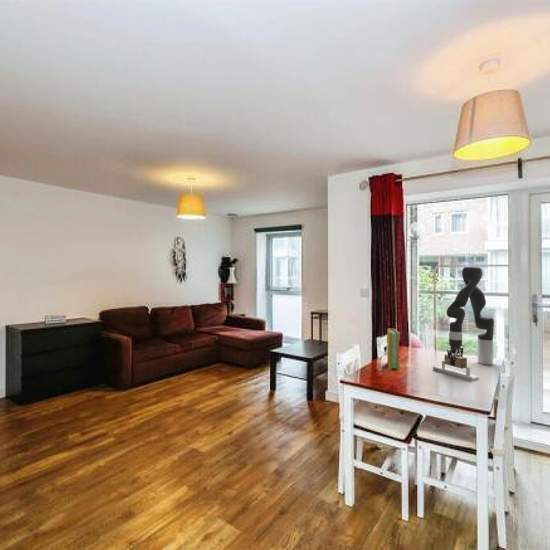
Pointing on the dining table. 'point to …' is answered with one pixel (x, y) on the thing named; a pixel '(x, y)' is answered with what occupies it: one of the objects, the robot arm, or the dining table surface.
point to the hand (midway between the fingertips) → (455, 364)
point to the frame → (457, 361)
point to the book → (393, 348)
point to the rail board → (456, 372)
